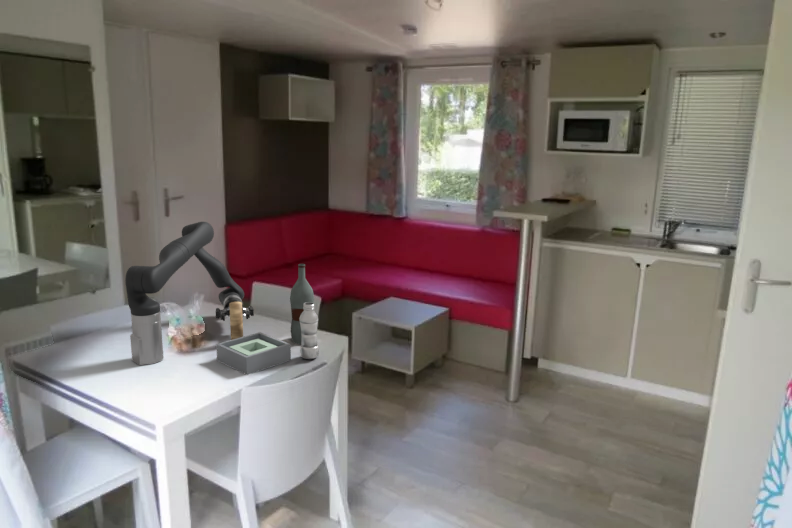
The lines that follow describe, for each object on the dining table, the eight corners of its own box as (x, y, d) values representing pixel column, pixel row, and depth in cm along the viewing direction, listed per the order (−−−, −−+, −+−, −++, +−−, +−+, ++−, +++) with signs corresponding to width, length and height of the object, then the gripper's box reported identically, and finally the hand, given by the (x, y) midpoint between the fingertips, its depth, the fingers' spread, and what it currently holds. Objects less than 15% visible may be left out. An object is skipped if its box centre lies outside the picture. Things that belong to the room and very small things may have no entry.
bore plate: (249, 367, 190) (249, 355, 189) (229, 357, 197) (228, 346, 197) (278, 357, 199) (278, 346, 198) (258, 348, 206) (257, 338, 205)
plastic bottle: (315, 362, 198) (315, 307, 194) (297, 360, 199) (296, 305, 195) (321, 355, 204) (321, 302, 200) (303, 353, 205) (303, 300, 201)
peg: (235, 347, 210) (233, 305, 207) (228, 344, 213) (227, 303, 210) (245, 344, 214) (244, 303, 210) (239, 341, 217) (237, 300, 213)
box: (247, 374, 186) (246, 357, 185) (217, 360, 197) (216, 344, 196) (290, 360, 199) (290, 344, 198) (260, 347, 211) (259, 332, 209)
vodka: (297, 335, 225) (295, 261, 218) (318, 337, 222) (317, 263, 216) (286, 342, 216) (284, 266, 210) (308, 345, 214) (307, 268, 207)
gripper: (214, 298, 226) (215, 309, 211) (251, 295, 231) (254, 306, 216) (215, 316, 228) (216, 328, 213) (251, 313, 232) (255, 325, 217)
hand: (235, 317), depth 214 cm, fingers open, 8 cm apart
